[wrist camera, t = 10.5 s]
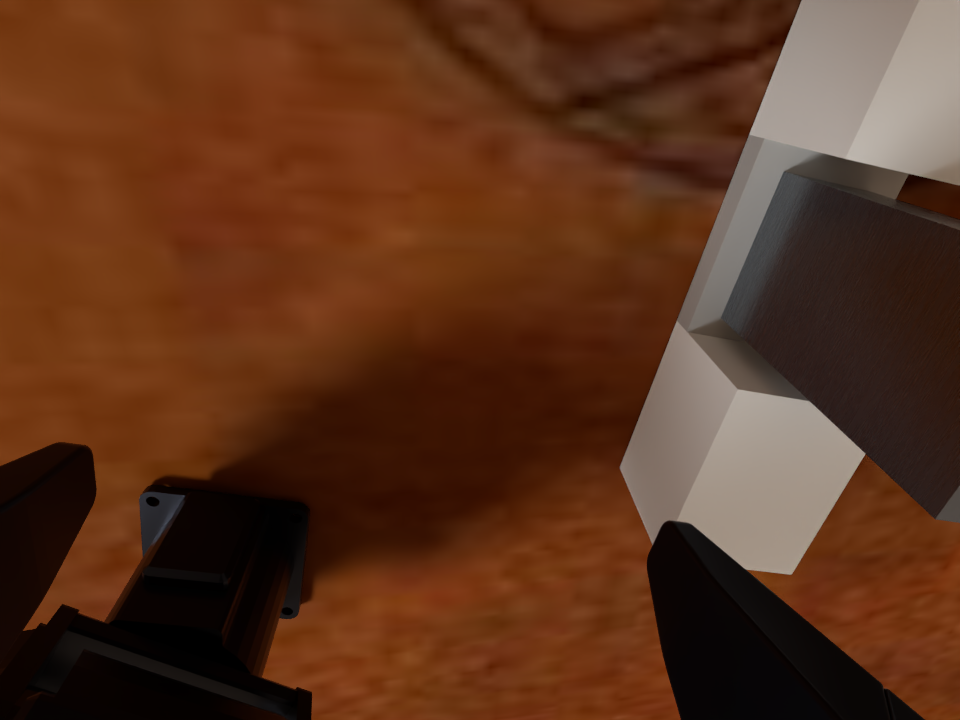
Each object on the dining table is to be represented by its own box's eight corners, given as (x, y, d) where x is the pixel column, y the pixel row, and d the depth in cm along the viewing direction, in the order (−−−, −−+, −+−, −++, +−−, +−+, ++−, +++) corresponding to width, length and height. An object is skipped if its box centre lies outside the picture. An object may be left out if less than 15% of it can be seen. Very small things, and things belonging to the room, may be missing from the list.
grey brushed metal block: (798, 332, 21) (1062, 537, 12) (720, 317, 20) (934, 519, 11) (869, 191, 19) (1257, 312, 10) (783, 171, 18) (1109, 280, 9)
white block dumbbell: (729, 483, 25) (791, 574, 21) (619, 467, 24) (658, 559, 20) (1011, -81, 16) (1224, -133, 12) (852, -131, 16) (1014, -205, 11)
